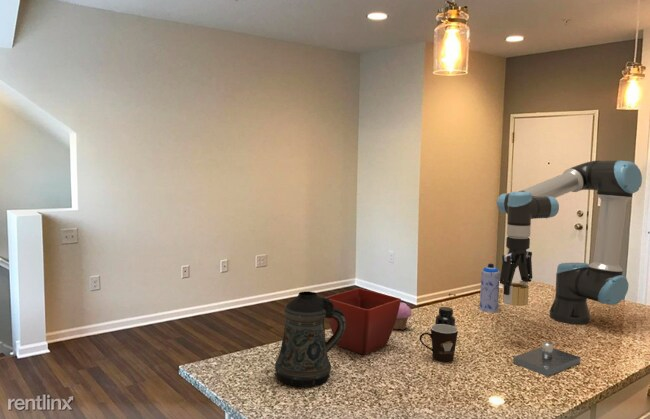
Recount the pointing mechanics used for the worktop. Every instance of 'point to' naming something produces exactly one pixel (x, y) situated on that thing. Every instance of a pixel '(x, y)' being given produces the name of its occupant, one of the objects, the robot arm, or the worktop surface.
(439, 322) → the supplement bottle
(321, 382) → the beer stein
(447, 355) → the coffee mug
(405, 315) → the cupcake
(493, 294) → the aerosol can
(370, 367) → the worktop surface
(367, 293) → the plant pot
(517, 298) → the ring
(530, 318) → the worktop surface
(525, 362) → the shaft stand
